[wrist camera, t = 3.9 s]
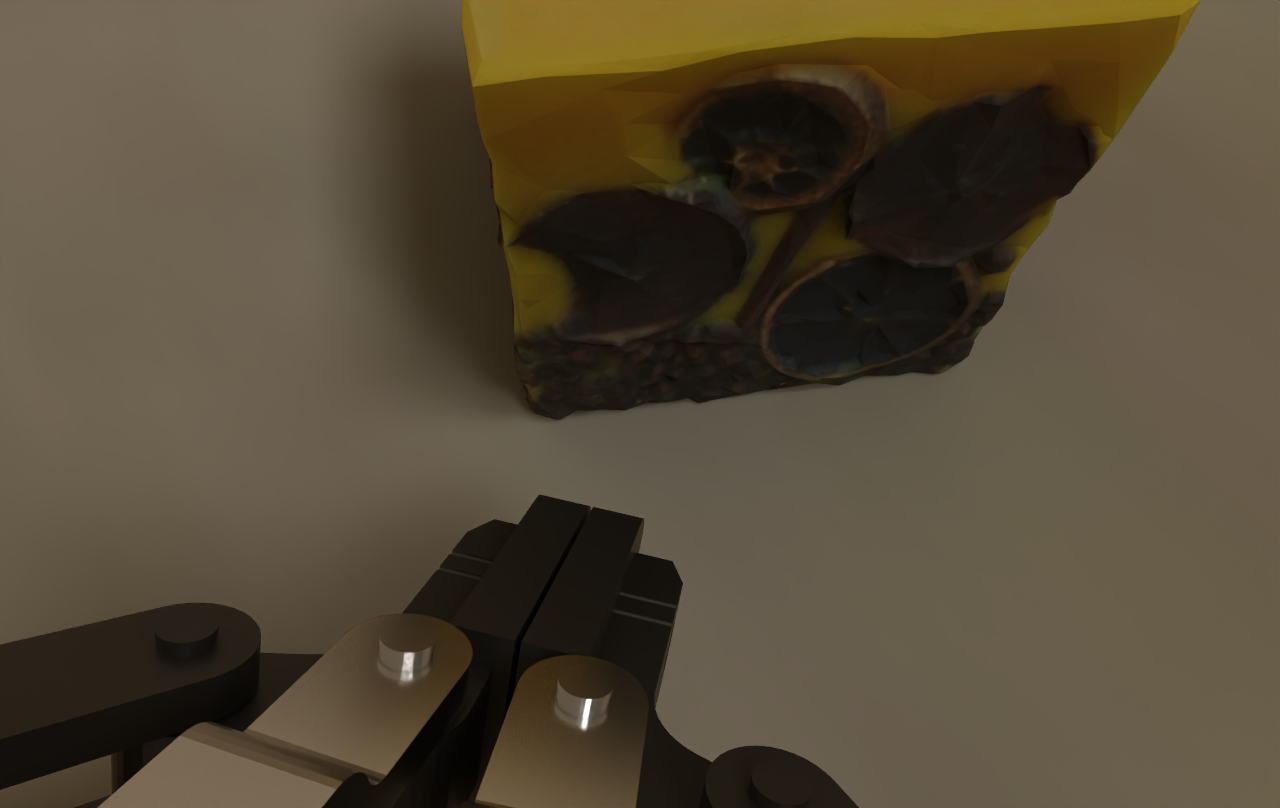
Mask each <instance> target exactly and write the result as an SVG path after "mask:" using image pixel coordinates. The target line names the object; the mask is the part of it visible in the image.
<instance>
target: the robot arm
mask: <svg viewBox="0 0 1280 808" xmlns="http://www.w3.org/2000/svg"><path fill="white" fill-rule="evenodd" d="M643 527H644V519H643V518H639V517H635V516H630V515H626V514H622V513H617V512H613V511H609V510H604V509H600V508H596V507H593V508H592V510H591V508H590V506H587V505H582V504H578V503H574V502H569V501H565V500H561V499H556V498H552V497H548V496H544V495H539V496H538V497H537V498H536V500H535V501H534V502H533V504H532V505H531V507H530V508H529V510H528V511H527V513H526V514H525V515H524V517H523V518H522V520H521V521H520V523H519V524H518V525H516V524H512V523H508V522H504V521H500V520H495V519H494V520H492V521H490V522H488V523H486V524H483V525H481V526H479V527H477V528H475V529H473V530H470V531H468V532H467V533H466V534H465V535H464V537H463V538H462V539H461V540H460V542H459V543H458V544H457V545H456V547H455V548H454V549H453V550H452V554H449V555H448V557H447V558H446V559H445V560H444V562H443V563H442V564H441V565H440V569H439V570H436V572H435V573H434V574H433V575H432V577H431V578H430V579H429V580H428V582H427V583H426V584H425V585H424V587H423V588H422V589H421V590H420V592H419V593H418V594H417V595H416V597H415V598H414V599H413V600H412V602H411V603H410V604H409V605H408V607H407V608H406V609H405V610H404V612H403V613H402V614H390V615H384V616H379V617H375V618H372V619H369V620H367V621H364V622H362V623H360V624H358V625H357V626H355V627H354V628H352V629H351V630H350V631H349V632H347V633H346V634H345V635H344V636H343V637H342V638H341V639H340V640H339V641H338V642H337V643H336V644H335V645H334V646H333V647H332V648H331V649H330V650H329V651H328V652H326V653H325V654H313V655H307V654H279V653H260V645H261V633H260V628H259V627H258V625H257V623H256V622H255V621H254V620H253V619H252V618H251V617H250V616H248V615H247V614H245V613H244V612H242V611H239V610H237V609H235V608H232V607H228V606H224V605H219V604H212V603H184V604H176V605H170V606H165V607H161V608H156V609H152V610H148V611H144V612H139V613H135V614H131V615H126V616H122V617H118V618H113V619H109V620H105V621H101V622H96V623H92V624H88V625H83V626H79V627H75V628H70V629H66V630H62V631H58V632H53V633H49V634H45V635H40V636H36V637H32V638H27V639H23V640H19V641H15V642H10V643H6V644H2V645H0V790H1V789H4V788H7V787H10V786H14V785H17V784H20V783H23V782H26V781H29V780H32V779H35V778H38V777H42V776H45V775H48V774H51V773H54V772H57V771H60V770H63V769H66V768H70V767H73V766H76V765H79V764H82V763H85V762H88V761H91V760H94V759H98V758H101V757H104V756H107V755H110V754H111V762H112V795H110V796H107V797H104V798H101V799H98V800H95V801H92V802H89V803H87V804H84V805H81V806H78V807H75V808H859V807H858V806H857V805H856V804H855V803H854V802H853V801H852V800H851V798H850V797H849V796H848V795H847V794H846V793H845V792H844V791H843V790H842V789H841V788H840V787H839V785H838V784H837V783H836V782H835V781H834V780H833V779H832V778H831V777H830V776H829V775H828V774H827V773H826V772H824V771H823V770H822V769H820V768H819V767H818V766H816V765H815V764H813V763H811V762H810V761H808V760H806V759H805V758H802V757H800V756H798V755H796V754H794V753H791V752H788V751H785V750H782V749H777V748H773V747H766V746H744V747H738V748H735V749H732V750H729V751H727V752H725V753H723V754H721V755H720V756H719V757H717V758H716V759H715V760H714V761H713V762H710V761H708V760H707V759H705V758H703V757H701V756H699V755H697V754H695V753H694V752H692V751H690V750H689V749H687V748H686V747H684V746H683V745H682V744H680V743H679V742H678V741H676V740H675V739H674V738H673V737H672V736H671V735H670V734H669V733H668V732H667V730H666V729H665V728H664V726H663V725H662V723H661V722H660V720H659V718H658V716H657V713H656V710H655V707H656V703H657V699H658V695H659V691H660V687H661V683H662V679H663V674H664V670H665V665H666V660H667V656H668V651H669V646H670V641H671V637H672V632H673V627H674V623H675V618H676V613H677V609H678V604H679V599H680V594H681V590H682V585H683V582H682V580H681V578H680V576H679V574H678V572H677V570H676V568H675V565H674V563H673V561H669V560H665V559H661V558H657V557H652V556H648V555H644V554H640V553H639V549H640V544H641V539H642V534H643Z"/></svg>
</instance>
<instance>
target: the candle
mask: <svg viewBox="0 0 1280 808" xmlns="http://www.w3.org/2000/svg"><path fill="white" fill-rule="evenodd" d="M1198 3H1199V0H462V31H463V37H464V44H465V50H466V56H467V62H468V69H469V75H470V81H471V87H472V94H473V100H474V106H475V112H476V119H477V124H478V128H479V131H480V134H481V137H482V140H483V143H484V145H485V148H486V150H487V152H488V155H489V158H490V170H491V188H492V189H493V191H494V197H495V201H496V204H497V211H498V216H499V221H500V223H499V234H498V245H499V246H501V247H502V248H503V250H504V254H505V257H506V261H507V265H508V269H509V274H510V281H511V290H512V303H513V323H514V339H515V345H514V350H515V362H516V369H517V375H518V379H519V380H520V381H521V382H522V383H523V387H524V389H525V391H526V392H527V395H526V400H527V402H528V403H529V405H530V407H531V408H532V410H533V411H534V412H535V413H537V414H541V415H545V416H549V417H552V418H556V419H562V418H563V417H565V416H567V415H569V414H571V413H572V412H574V411H576V410H597V409H617V410H626V409H629V408H632V407H635V406H638V405H641V404H644V403H646V402H665V401H674V400H680V399H684V398H688V397H690V398H692V399H694V400H696V401H698V402H700V403H701V402H705V401H708V400H713V399H718V398H723V397H729V396H734V395H739V394H745V393H751V392H756V391H761V390H769V389H777V388H784V387H791V386H798V385H804V384H811V383H818V382H821V383H829V384H838V385H840V384H843V383H845V382H848V381H850V380H852V379H855V378H858V377H860V376H863V375H896V374H902V373H907V372H912V371H915V372H929V373H940V372H942V371H944V370H946V369H948V368H950V367H952V366H954V365H956V364H957V363H959V362H961V361H962V360H964V359H965V358H966V357H968V356H969V353H970V351H971V349H972V347H973V344H974V340H975V338H976V337H977V335H978V334H979V332H980V330H981V329H982V327H983V326H985V325H986V324H987V323H988V322H989V321H991V320H992V318H993V317H994V316H995V314H996V313H997V312H998V310H999V309H1000V308H1001V306H1002V305H1003V301H1004V297H1005V292H1006V289H1007V285H1008V281H1009V277H1010V274H1011V272H1012V271H1013V269H1014V268H1015V267H1016V265H1017V264H1018V262H1019V261H1020V259H1021V258H1022V257H1023V255H1024V254H1025V252H1026V251H1027V249H1028V248H1029V247H1030V246H1031V245H1032V243H1033V242H1034V241H1035V240H1036V239H1037V237H1038V236H1039V235H1040V234H1041V233H1042V232H1043V230H1044V229H1045V228H1046V227H1047V226H1048V223H1049V220H1050V218H1051V215H1052V212H1053V210H1054V207H1055V204H1056V201H1057V199H1059V198H1061V197H1063V196H1065V195H1067V194H1069V193H1071V191H1072V190H1073V188H1074V187H1075V185H1076V184H1077V183H1078V182H1079V181H1080V180H1081V179H1082V178H1083V177H1084V176H1085V175H1086V174H1087V173H1088V172H1089V171H1090V170H1091V169H1092V167H1093V166H1094V165H1095V163H1096V162H1097V161H1098V159H1099V158H1100V157H1101V155H1102V154H1103V153H1104V152H1105V150H1106V149H1107V148H1108V146H1109V145H1110V144H1111V142H1112V141H1113V140H1114V138H1115V137H1116V135H1117V134H1118V132H1119V131H1120V129H1121V128H1122V126H1123V125H1124V123H1125V122H1126V120H1127V119H1128V117H1129V116H1130V114H1131V113H1132V111H1133V110H1134V108H1135V107H1136V105H1137V104H1138V102H1139V101H1140V99H1141V98H1142V97H1143V95H1144V94H1145V92H1146V91H1147V89H1148V88H1149V86H1150V85H1151V83H1152V82H1153V80H1154V79H1155V77H1156V76H1157V75H1158V73H1159V72H1160V70H1161V69H1162V67H1163V66H1164V64H1165V63H1166V61H1167V60H1168V58H1169V56H1170V55H1171V53H1172V51H1173V50H1174V48H1175V46H1176V44H1177V42H1178V40H1179V39H1180V37H1181V35H1182V33H1183V31H1184V29H1185V27H1186V26H1187V24H1188V22H1189V20H1190V18H1191V16H1192V14H1193V13H1194V11H1195V9H1196V7H1197V5H1198Z"/></svg>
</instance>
